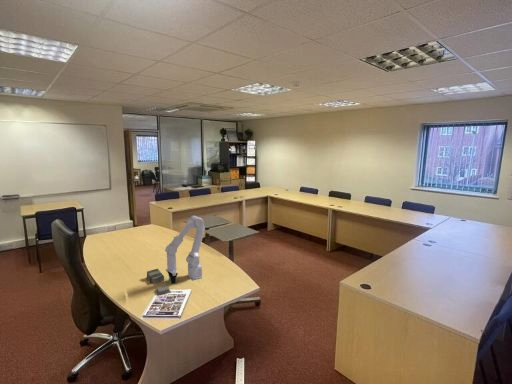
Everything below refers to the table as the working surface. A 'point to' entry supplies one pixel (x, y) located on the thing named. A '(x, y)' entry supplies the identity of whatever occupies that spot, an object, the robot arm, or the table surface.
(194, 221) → the robot arm
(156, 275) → the stone block
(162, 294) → the tower base
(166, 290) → the tower mid
